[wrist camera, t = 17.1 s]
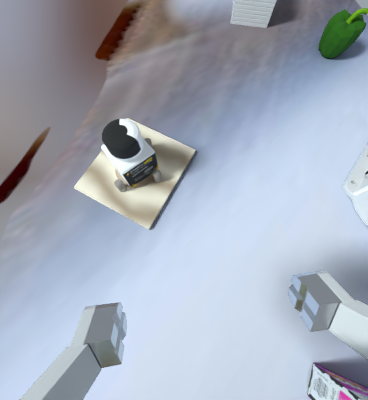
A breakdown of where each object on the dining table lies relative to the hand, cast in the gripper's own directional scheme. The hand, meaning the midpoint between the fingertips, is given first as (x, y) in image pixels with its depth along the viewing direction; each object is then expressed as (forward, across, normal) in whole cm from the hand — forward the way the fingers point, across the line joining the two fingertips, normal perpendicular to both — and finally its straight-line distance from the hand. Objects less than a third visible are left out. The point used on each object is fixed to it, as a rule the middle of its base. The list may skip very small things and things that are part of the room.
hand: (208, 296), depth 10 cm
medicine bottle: (+36, +8, +4) cm, 37 cm away
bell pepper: (+58, -47, -16) cm, 76 cm away
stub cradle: (+37, +8, +5) cm, 38 cm away
